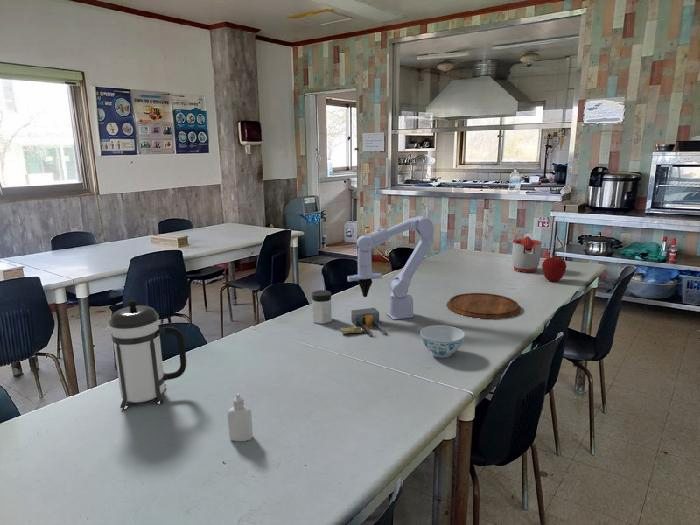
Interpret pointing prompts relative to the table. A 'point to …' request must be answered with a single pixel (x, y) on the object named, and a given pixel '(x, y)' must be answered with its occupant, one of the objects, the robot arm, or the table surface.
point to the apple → (553, 268)
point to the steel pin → (368, 320)
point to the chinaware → (442, 339)
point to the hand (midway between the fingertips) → (364, 296)
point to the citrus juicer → (526, 254)
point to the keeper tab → (352, 330)
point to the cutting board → (483, 306)
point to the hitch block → (358, 319)
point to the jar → (321, 306)
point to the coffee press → (141, 353)
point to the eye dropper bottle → (240, 421)
